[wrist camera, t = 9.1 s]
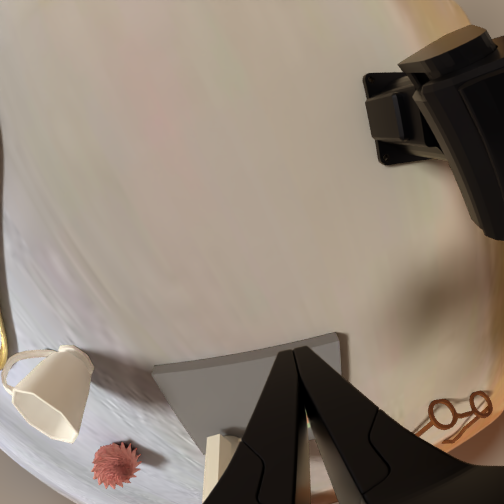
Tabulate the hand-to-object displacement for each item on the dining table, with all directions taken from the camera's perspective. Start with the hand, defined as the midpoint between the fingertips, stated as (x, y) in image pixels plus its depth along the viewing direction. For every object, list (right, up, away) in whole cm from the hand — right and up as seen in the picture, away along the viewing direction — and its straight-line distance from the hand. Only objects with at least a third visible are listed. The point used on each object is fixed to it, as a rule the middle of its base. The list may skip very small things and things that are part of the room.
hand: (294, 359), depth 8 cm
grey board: (-1, -12, +18) cm, 22 cm away
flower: (-19, -22, +22) cm, 36 cm away
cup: (-20, -7, +16) cm, 27 cm away
